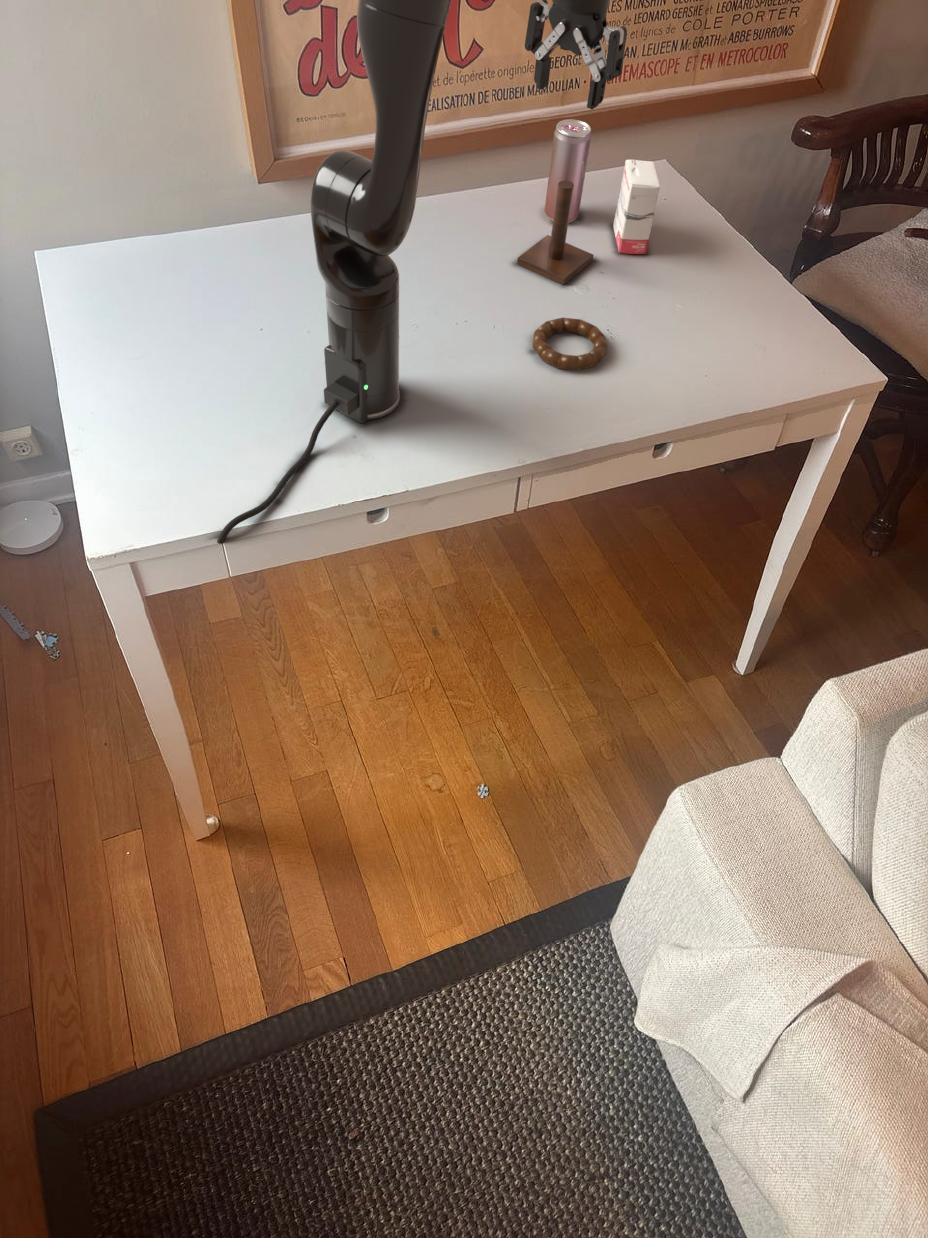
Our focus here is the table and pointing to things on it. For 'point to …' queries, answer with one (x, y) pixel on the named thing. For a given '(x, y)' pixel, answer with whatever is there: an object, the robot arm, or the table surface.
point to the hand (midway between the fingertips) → (567, 96)
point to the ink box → (636, 206)
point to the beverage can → (568, 163)
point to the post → (557, 245)
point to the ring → (570, 360)
